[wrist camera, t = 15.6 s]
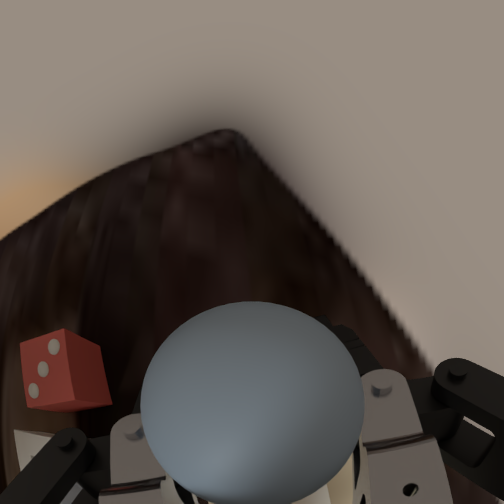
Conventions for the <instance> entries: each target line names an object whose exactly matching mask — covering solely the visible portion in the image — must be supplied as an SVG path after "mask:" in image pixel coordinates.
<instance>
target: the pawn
mask: <svg viewBox="0 0 504 504" xmlns="http://www.w3.org/2000/svg"><path fill="white" fill-rule="evenodd" d="M140 408H141V420H142V425H143V429H144V433H145V436H146V439H147V442H148V444H149V446H150V448H151V450H152V452H153V454H154V456H155V458H156V459H157V461H158V462H159V463H160V465H161V466H162V468H163V469H164V470H165V471H166V472H167V473H168V474H169V475H170V476H171V477H172V478H173V479H174V480H175V481H176V482H177V483H178V484H180V485H181V486H182V487H183V488H185V489H186V490H188V491H189V492H191V493H193V494H194V495H196V496H198V497H200V498H202V499H204V500H207V501H209V502H211V503H214V504H291V503H293V502H296V501H299V500H301V499H303V498H305V497H307V496H309V495H311V494H313V493H314V492H316V491H317V490H319V489H320V488H321V487H323V486H324V485H326V484H327V483H328V482H329V481H330V480H331V479H332V478H333V477H334V476H335V475H337V473H338V472H339V471H340V470H341V469H342V467H343V466H344V465H345V464H346V462H347V461H348V459H349V457H350V456H351V454H352V452H353V451H354V449H355V446H356V444H357V442H358V439H359V437H360V433H361V429H362V426H363V420H364V411H365V401H364V391H363V385H362V380H361V377H360V374H359V371H358V368H357V366H356V364H355V362H354V360H353V358H352V356H351V355H350V353H349V352H348V350H347V349H346V347H345V346H344V344H343V343H342V342H341V341H340V340H339V339H338V338H337V337H336V335H335V334H334V333H332V332H331V331H330V330H329V329H328V328H327V327H325V326H324V325H323V324H321V323H320V322H318V321H317V320H315V319H314V318H312V317H310V316H308V315H306V314H304V313H302V312H300V311H298V310H295V309H292V308H289V307H287V306H283V305H278V304H274V303H266V302H238V303H230V304H226V305H222V306H218V307H215V308H212V309H210V310H207V311H204V312H202V313H200V314H198V315H197V316H195V317H193V318H191V319H190V320H188V321H187V322H185V323H184V324H182V325H181V326H180V327H178V328H177V329H176V330H175V331H174V332H173V333H172V334H170V336H169V337H168V338H167V339H166V340H165V341H164V342H163V343H162V345H161V346H160V348H159V349H158V350H157V352H156V353H155V355H154V357H153V359H152V361H151V363H150V365H149V367H148V369H147V372H146V375H145V378H144V381H143V386H142V391H141V404H140Z"/></svg>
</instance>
